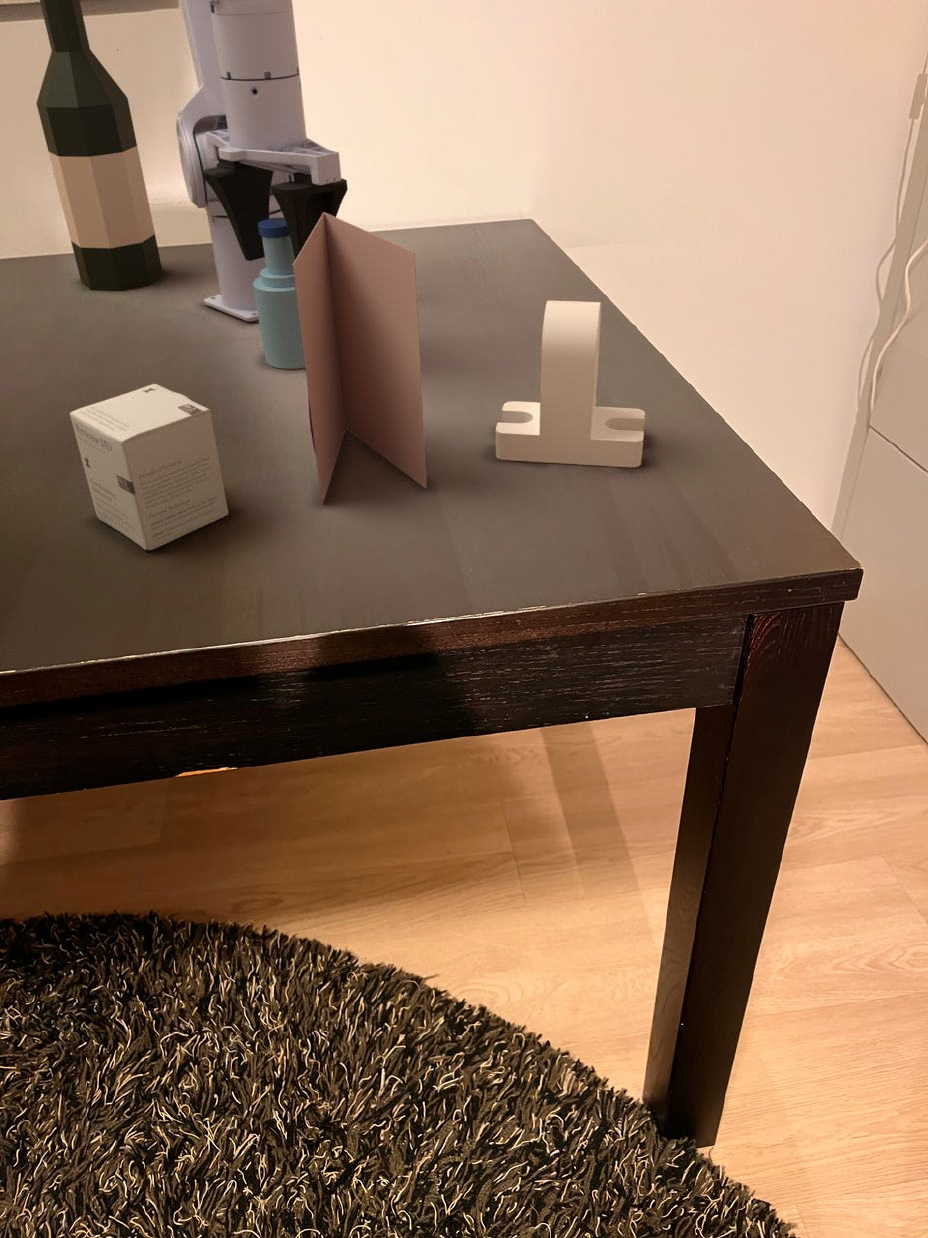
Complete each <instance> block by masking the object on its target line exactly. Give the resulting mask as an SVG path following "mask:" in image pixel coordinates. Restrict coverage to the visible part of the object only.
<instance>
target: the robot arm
mask: <svg viewBox="0 0 928 1238" xmlns="http://www.w3.org/2000/svg"><path fill="white" fill-rule="evenodd" d="M179 4H180V9H181V12H182V17H183V22H184V27H185V31H186V37H187V40H188V44H189V49H190V54H191V59H192V63H193V68H194V73H195V76H196V80H197V86H198V89H197V90H196V91H195V92H194V93H193V94H192V95H191V96H190V97H189V98H188V99H187V101H186V102H185V103H184V104H183V105H182V106H181V107H180V109H179V110H178V112H177V118H176V120H175V129H176V130H175V131H176V132H175V133H176V136H177V141H178V151H179V158H180V165H181V170H182V176H183V180H184V183H185V184H184V185H185V188H186V191H187V195H188V198H189V200H190V203H192V204H193V205H195V206H196V207H197V208H198V209H204V210H205V212H206V216H207V222H208V229H209V234H210V240H211V245H212V251H213V257H214V263H215V269H216V275H217V282H218V286H219V292H220V294H216V295H213V296H212V295H211V296H209V297H206V298H204V299H203V304H204V305H205V306H209V307H211V308H213V309H215V310H218V311H220V312H224V313H226V314H228V315H230V316H233V317H236V318H238V319H240V320H243V321H245V322H255V321H259V318H258V312H257V306H256V300H255V294H254V288H253V282H254V280H255V279H257V278H258V277H260V271H261V270H262V269H264V268H266V267H267V266H266V260H265V253H264V247H263V241H262V236H261V235H260V234H259V228H258V223H259V222H261V221H263V220H266V219H271V218H285V221H286V224H287V227H288V230H289V233H290V237H291V242H292V247H293V252H294V257H295V260H296V258H297V257H298V255H299V253H300V252H301V250H302V248H303V246H304V245H305V243H306V241H307V240H308V238H309V236H310V235H311V233H312V231H313V229H314V228H315V226H316V224H317V223H318V221H319V219H320V217H321V216H322V214H323V212H325V213H327V214H329V215H332V216H334V217H336V218H337V215H338V213H339V210H340V209H341V208H340V207H341V205H342V202H343V200H344V198H345V196H346V194H347V192H348V190H349V189H348V181H347V179H346V178H342V172H341V171H342V170H341V161H340V159H341V158H340V152H338V151H335V150H331V149H329V148H326V147H324V146H323V145H320V144H319V143H317V142H316V141H314V140H312V139H311V138H309V137H308V136H307V126H306V117H305V109H304V108H305V107H304V99H303V90H302V89H303V88H302V80H301V71H300V62H299V61H300V60H299V52H298V44H297V43H298V42H297V34H296V24H295V16H294V7H293V0H179Z"/></svg>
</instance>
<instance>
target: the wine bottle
mask: <svg viewBox="0 0 928 1238" xmlns="http://www.w3.org/2000/svg"><path fill="white" fill-rule="evenodd" d="M39 3H40V7H41V12H42V17H43V20H44V24H45V28H46V33H47V37H48V42H49V46H50V49H51V52H50V55H49V59H48V62H47V66H46V69H45V72H44V76H43V79H42V82H41V86H40V90H39V93H38V96H37V99H36V107H37V111H38V115H39V119H40V123H41V127H42V132H43V135H44V140H45V143H46V147H47V151H48V156H49V159H50V163H51V167H52V171H53V176H54V179H55V183H56V187H57V191H58V195H59V199H60V203H61V206H62V207H61V208H62V211H63V215H64V219H65V222H66V226H67V227H66V228H67V230H68V235H69V239H70V242H71V247H72V250H73V251H72V252H73V255H74V258H75V262H76V267H77V269H78V271H77V272H78V274H79V279H80V282H81V283H82V284H83V285H84V286H85V287H86V288H88V289H89V290H92V291H119V292H121V291H125V290H129V289H134V288H135V289H136V288H140V287H144V286H149V285H152V284H153V283H154V282H156V281H157V280H159V279H160V278H161V277H163V276H164V271H163V266H162V261H161V257H160V256H161V255H160V252H159V247H158V241H157V237H156V232H155V227H154V221H153V217H152V212H151V208H150V203H149V197H148V193H147V192H148V191H147V188H146V187H147V186H146V182H145V177H144V172H143V168H142V163H141V157H140V152H139V148H138V144H137V138H136V133H135V128H134V123H133V118H132V113H131V108H130V103H129V102H130V101H129V98H128V96H127V95H126V94H125V92H124V91H123V90H122V89H121V87H120V86H119V85H118V83H117V82H116V81H115V80H114V78H113V77H112V76H111V74H110V73H109V72H108V71H107V69H106V68H105V66H103V64H102V63H101V61H100V60H99V59H98V57H97V56H96V55H95V54H94V52H93V51H92V50H91V47H90V42H89V38H88V32H87V29H86V23H85V20H84V15H83V10H82V6H81V1H80V0H39Z"/></svg>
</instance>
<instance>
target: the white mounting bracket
mask: <svg viewBox="0 0 928 1238" xmlns="http://www.w3.org/2000/svg"><path fill="white" fill-rule="evenodd" d="M601 320H602V302H600V301H576V300H575V301H574V300H573V301H572V300H547V301H546V303H545V309H544V316H543V324H542V335H541V353H540V355H541V356H540V357H541V358H540V393H539V394H540V395H539V402H534V401H516V400H515V401H513V400H511V401H507V402H504V403H503V406H502V409H501V422H499V421H497V422H496V426H495V457H496V459H498V460H501V461H515V462H530V463H531V462H532V463H533V462H534V463H548V464H549V463H550V464H567V465H581V466H583V465H584V466H598V467H599V466H600V467H617V468H619V467H621V468H638V467H640V466H641V465H642V458H643V447H644V437H645V436H644V435H645V431H644V429H645V427H644V426H645V417H646V413H645V411H644V410H643V409H640V408H632V407H631V408H629V407H612V406H611V407H609V406H596V403H597V390H598V389H597V388H598V371H599V357H600V356H599V355H600V342H601V341H600V337H601V323H602V321H601Z"/></svg>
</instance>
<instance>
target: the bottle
mask: <svg viewBox="0 0 928 1238" xmlns="http://www.w3.org/2000/svg"><path fill="white" fill-rule="evenodd" d="M258 228H259V234H260V235H261V236H262V241H263V247H264V253H265V260H266V266H267V267H266V268H264V269H262V270H261V271H260V277H258V278H257V279H255V280H254V282H253V288H254V294H255V300H256V306H257V312H258V318H259V319H258V324H259V329H260V334H261V335H260V336H261V340H262V347H263V353H264V360H265V362H266V363H267V364H268V365H269V366H271V367H273V368H276V369H282V370H297V369H304V368H305V361H304V353H303V345H302V336H301V328H300V320H299V312H298V304H297V295H296V290H295V286H294V285H295V279H294V271H293V264H294V262H295V257H294V252H293V247H292V242H291V237H290V233H289V230H288V227H287V224H286V221H285V218H271V219H266V220H263V221H261V222H259V223H258Z"/></svg>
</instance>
